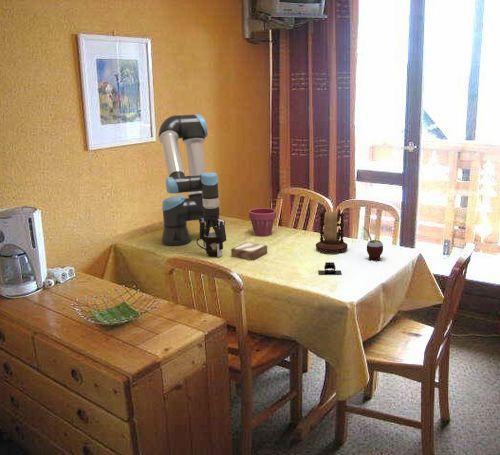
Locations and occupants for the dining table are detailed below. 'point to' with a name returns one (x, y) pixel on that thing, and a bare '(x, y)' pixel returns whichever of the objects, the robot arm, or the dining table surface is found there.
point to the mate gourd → (374, 248)
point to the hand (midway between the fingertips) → (213, 254)
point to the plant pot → (262, 220)
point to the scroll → (331, 232)
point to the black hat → (329, 272)
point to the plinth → (249, 251)
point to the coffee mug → (210, 244)
